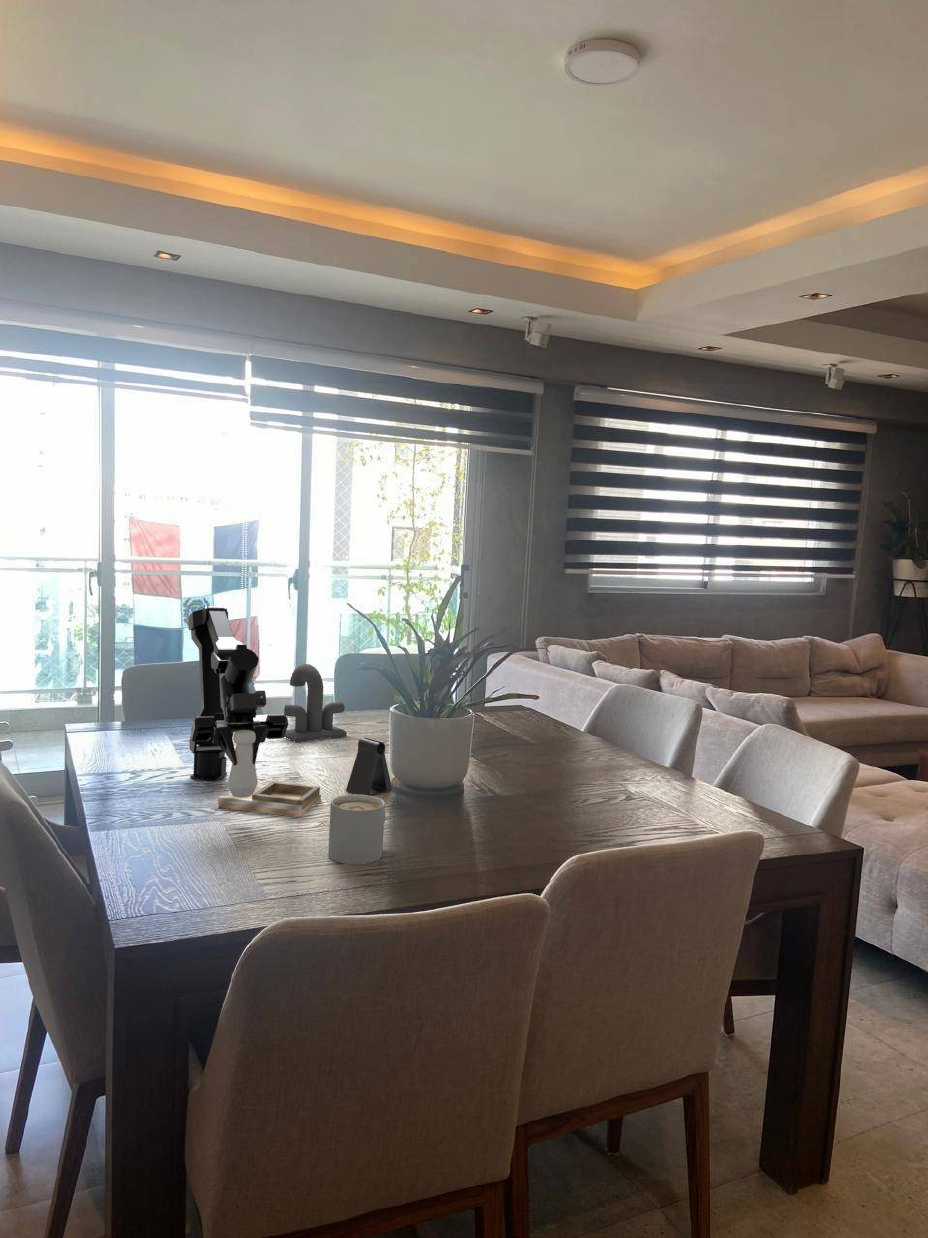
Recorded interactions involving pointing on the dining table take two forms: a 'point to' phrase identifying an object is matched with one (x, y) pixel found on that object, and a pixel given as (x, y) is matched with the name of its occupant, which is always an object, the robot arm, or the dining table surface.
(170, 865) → the dining table surface
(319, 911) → the dining table surface
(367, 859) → the coffee mug
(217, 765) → the robot arm
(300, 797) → the wooden tray
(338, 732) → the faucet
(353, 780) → the dark brown phone stand
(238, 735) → the salt shaker
